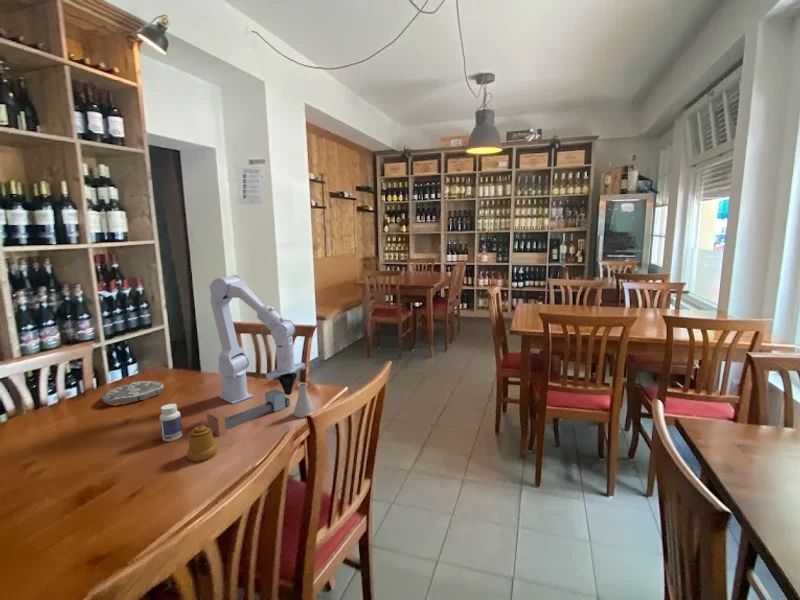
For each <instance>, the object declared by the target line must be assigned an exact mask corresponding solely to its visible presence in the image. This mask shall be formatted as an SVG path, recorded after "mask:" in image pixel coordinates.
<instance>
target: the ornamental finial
mask: <svg viewBox="0 0 800 600" xmlns="http://www.w3.org/2000/svg"><path fill="white" fill-rule="evenodd" d="M188 446H189V447H188V449H187V451H186V457H187V458H188V459H189V461H192V462H204V461H207V460H209V459H211V458H213V457H214V456H215V455H216V454H217V451H218V445H217V444H216V443H215V441H214V435H213V432H212V430H211V429H209V428H208V426H205V425H199V426H195V428H194V429H192V430H191V431H190V432H189V433H188Z"/></svg>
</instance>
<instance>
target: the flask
mask: <svg viewBox="0 0 800 600" xmlns="http://www.w3.org/2000/svg"><path fill="white" fill-rule="evenodd" d="M307 387H308V383H307V382H300V383H298V384H297V388H298V397H297V399H296V403H295V407H294V411H293V417H296V418H306V417H305V416H306V414H308V413H310V412H313V411H315V412H316V408H315V406H314V404H313V402H312V400H311V397H310V395H309V393H308V392H309V391H308V388H307Z"/></svg>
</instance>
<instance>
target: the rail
mask: <svg viewBox="0 0 800 600" xmlns="http://www.w3.org/2000/svg"><path fill="white" fill-rule="evenodd" d="M289 405H290V406H291V400H290V398H289V397H286V396H285V407H286V406H288V407H290V406H289ZM272 412H274V411H273V403H271V402H268V403H266V402H265V403H263V404H261V405H258V406H254V407H252V408H249V409H247V410H244V411H241V412H239V413H236V414H233V415H230V416H228V417H225V415H223V414H221V413H220V412H217V411H215V410H214V409H212V410H209V411H207V412H206V419H207V427H208V428H209V429H211V430H212V433H214V434H215V433H216V435H218V437H221V436H224V435H226V434H227V431H226V430H229V429H232V428H234V427H236V426H239V425H241V424H244V423H247V422H249V421H251V420H252V421H253V420H255V419H257V418H260V417H262V416H263V415H264V416H265V415H266V414H269V413H272Z"/></svg>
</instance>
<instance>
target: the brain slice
mask: <svg viewBox="0 0 800 600" xmlns="http://www.w3.org/2000/svg"><path fill="white" fill-rule="evenodd" d="M163 383H164V382H162V381H157V380H156V381H155V380H154V381H153V380H147V381H144V380H142V381H141V380H140V381H134V382H130V383H129V384H122V385H118V386H117V385H116V386H115V387H114V388H111V389H109V390H108V391H107V392H105V393H104V394H103V395H102V396H101V398H100V399H101V400H102V401H103V402H104V403H105V404H107V405H108V404H109V405H108V406H111V404H116V403H124V402H134V401H138V400H143V399H146V398H149V397H152V398H154V397H153V396H155V397H157V396H156V395H158V394H159V395H160V394H162V392H163V391H164V389H165V384H163ZM159 395H158V396H159ZM149 399H150V398H149ZM146 400H147V399H146ZM138 402H139V401H138Z"/></svg>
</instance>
